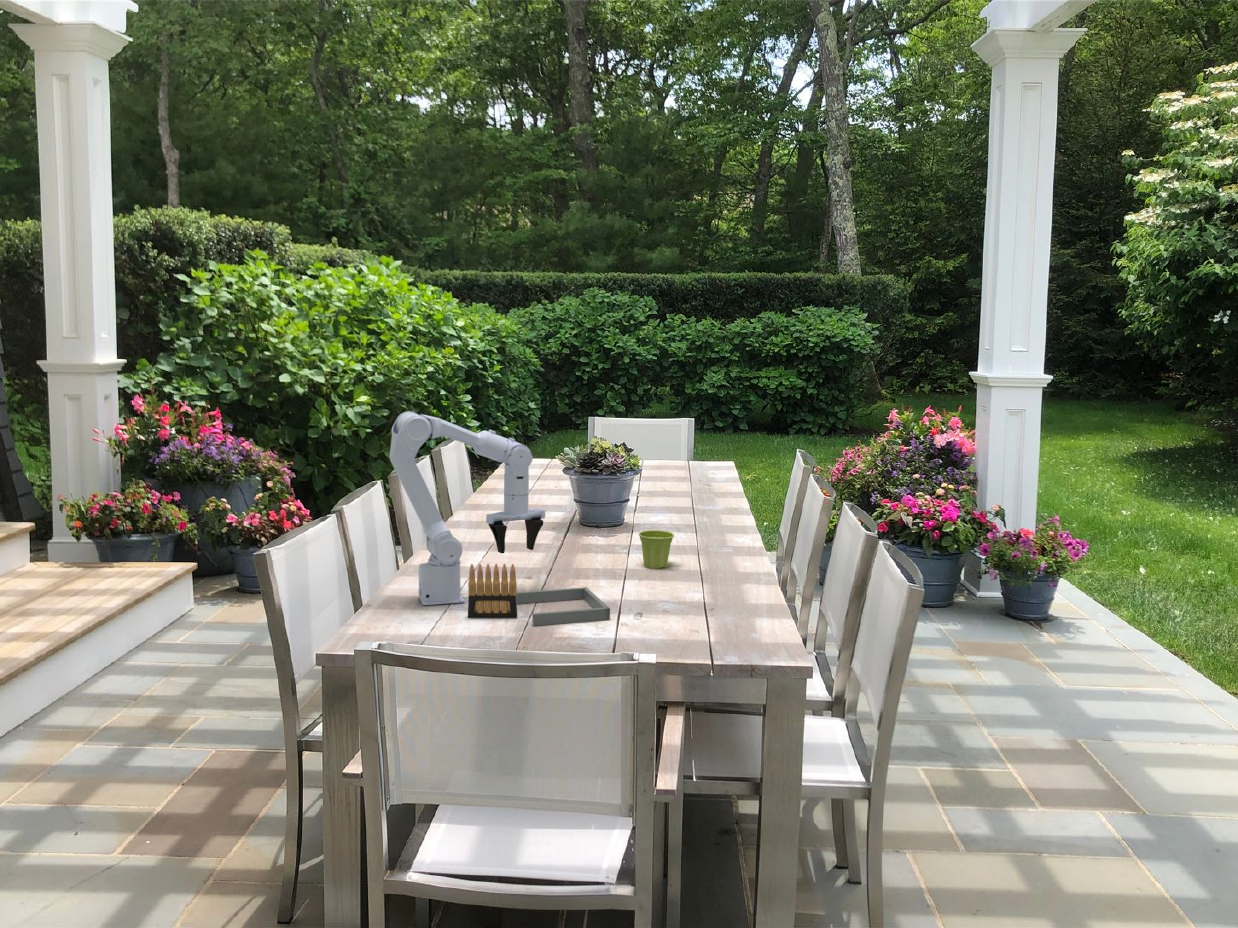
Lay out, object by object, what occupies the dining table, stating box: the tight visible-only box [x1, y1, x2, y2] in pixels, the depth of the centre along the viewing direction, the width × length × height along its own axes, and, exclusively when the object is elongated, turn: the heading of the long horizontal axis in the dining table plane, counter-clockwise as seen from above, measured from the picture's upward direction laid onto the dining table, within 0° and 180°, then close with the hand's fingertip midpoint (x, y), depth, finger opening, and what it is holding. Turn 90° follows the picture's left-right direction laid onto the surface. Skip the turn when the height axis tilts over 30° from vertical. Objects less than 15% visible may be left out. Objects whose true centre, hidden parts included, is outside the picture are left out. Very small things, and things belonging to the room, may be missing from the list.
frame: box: [517, 586, 611, 627], centre depth 231 cm, size 17×18×2 cm
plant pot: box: [638, 529, 675, 570], centre depth 272 cm, size 9×9×9 cm
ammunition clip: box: [467, 563, 518, 619], centre depth 225 cm, size 11×2×12 cm, turn 93°
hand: (515, 550), depth 244 cm, fingers open, 7 cm apart
